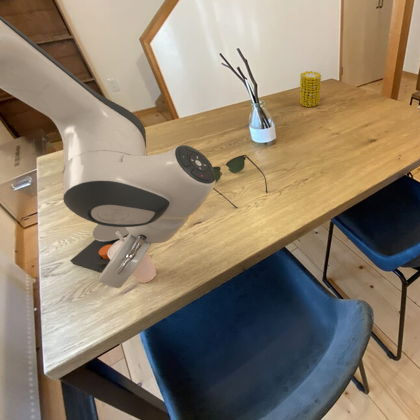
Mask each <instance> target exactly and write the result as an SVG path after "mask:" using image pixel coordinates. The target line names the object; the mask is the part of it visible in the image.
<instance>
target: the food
mask: <svg viewBox="0 0 420 420" xmlns="http://www.w3.org/2000/svg"><path fill="white" fill-rule="evenodd" d="M299 77H300V78H299V79H300V80H299V86H300V87H299V88H300V89H299V102H300V105H301V106H303V107H305V108H312V107H315V106H318V105H320V103H321V102H320V101H321V92H322V91H321V88H322V83H321V82H322V75H321V73H320V72H319V71H318V72H316V71H313V70H309V71H308V70H307V71H305V72H301V73H300V75H299Z"/></svg>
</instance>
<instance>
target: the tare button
mask: <svg viewBox="0 0 420 420" xmlns="http://www.w3.org/2000/svg"><path fill="white" fill-rule="evenodd" d="M111 246H112V245H106V246H104V247H102V248H101V249H100V250H99V254H100V255H101V257H102V258H103V259H105V260H108V259H110V258H109V257H108V250H109V249H110V247H111Z"/></svg>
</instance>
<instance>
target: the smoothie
mask: <svg viewBox="0 0 420 420" xmlns="http://www.w3.org/2000/svg"><path fill="white" fill-rule="evenodd" d="M115 233H116V235H117V236H118V237H119V239H120V240H118V241H117V242H115V243H114V244H113V245H112V246H111V247H110V249H109V250H108V257H109V258H110V260H111V259H112V257H113V256H114V254H115V253H116V252H117V250H118V249H119V247H120V246H121V244H122V243H123V241H124V240H125V239H126V237H125V238H123V237H122V235H121V234H120V233H119V232H118V231H117V232H115ZM156 276H157V270H156V267H155V265H154V263H153V261H152V259H151V257H150V254H149V253H148V251H147V252H146V253H145V255H144V257H143V258H142V260H141V262H140V263H139V265H138V266H137V268H136V269H135V271H134V272H133V273H132V274H131V277H133V278H134V279H135V280H136V281H138V282H139V283H142V284H145V283H148V282H151V281H152V280H154V279H155V277H156Z"/></svg>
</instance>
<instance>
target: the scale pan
mask: <svg viewBox="0 0 420 420" xmlns="http://www.w3.org/2000/svg"><path fill="white" fill-rule="evenodd" d="M117 231H118V232H119V233H120V234H121V235H122V237H123V238H125V237H127V236H128V234H129V232H128V230H127V229H126V227H112V226H104V225H100V224H96V225H95V227H94V228H93V230H92V237H93V238H94V240H95V239H96V240H97V241H99V242H102V243H110V242H115V241H118V240H120V239H119V237H118V236H117V235H116V233H115V232H117Z"/></svg>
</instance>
